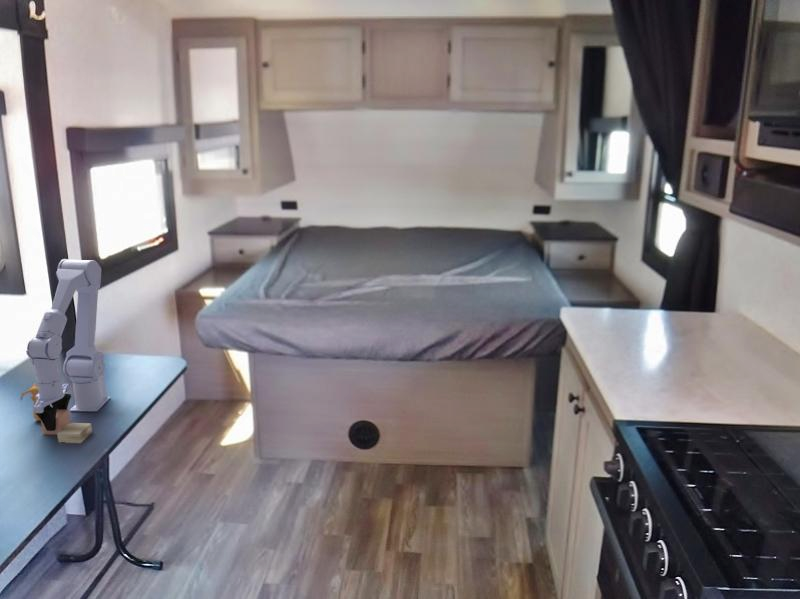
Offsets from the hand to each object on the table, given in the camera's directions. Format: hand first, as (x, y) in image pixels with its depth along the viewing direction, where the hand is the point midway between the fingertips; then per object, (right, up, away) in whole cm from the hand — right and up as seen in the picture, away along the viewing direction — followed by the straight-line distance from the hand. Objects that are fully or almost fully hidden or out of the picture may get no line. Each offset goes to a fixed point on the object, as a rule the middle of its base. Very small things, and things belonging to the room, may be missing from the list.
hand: (56, 425), depth 174 cm
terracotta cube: (0, -1, 0) cm, 1 cm away
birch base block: (+7, -3, -3) cm, 8 cm away
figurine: (-7, 0, +5) cm, 9 cm away
